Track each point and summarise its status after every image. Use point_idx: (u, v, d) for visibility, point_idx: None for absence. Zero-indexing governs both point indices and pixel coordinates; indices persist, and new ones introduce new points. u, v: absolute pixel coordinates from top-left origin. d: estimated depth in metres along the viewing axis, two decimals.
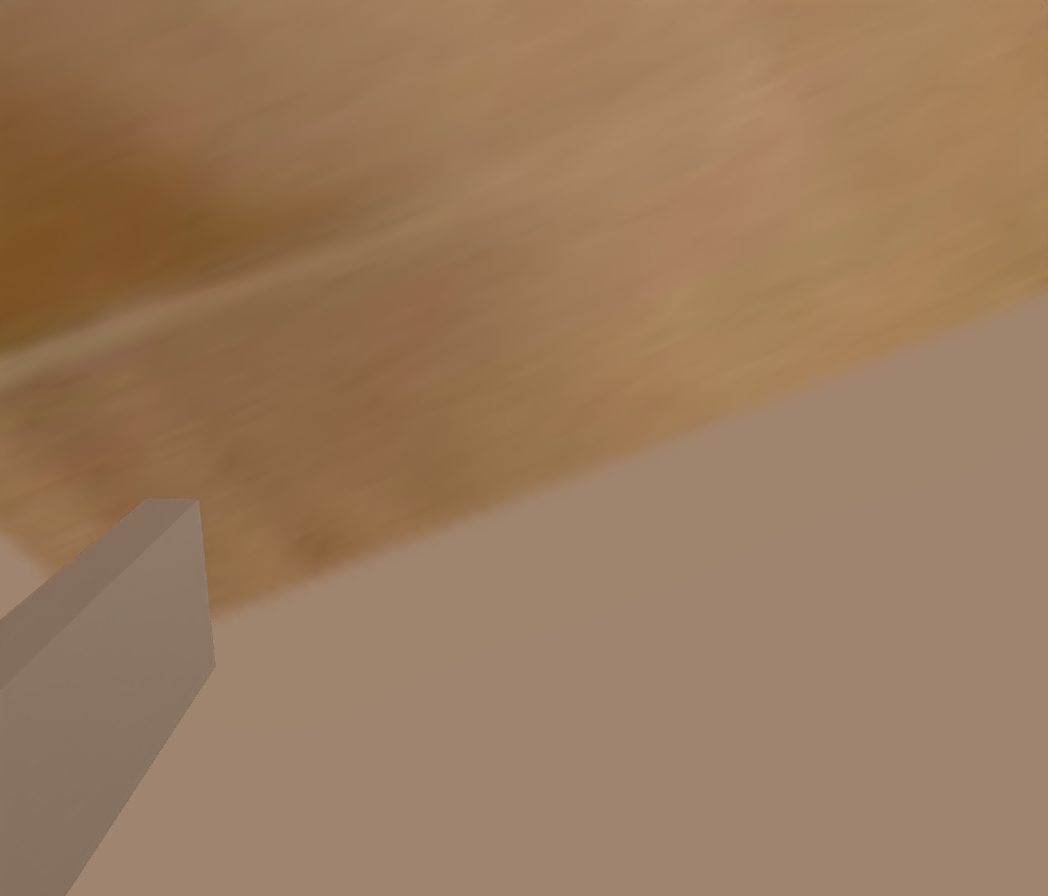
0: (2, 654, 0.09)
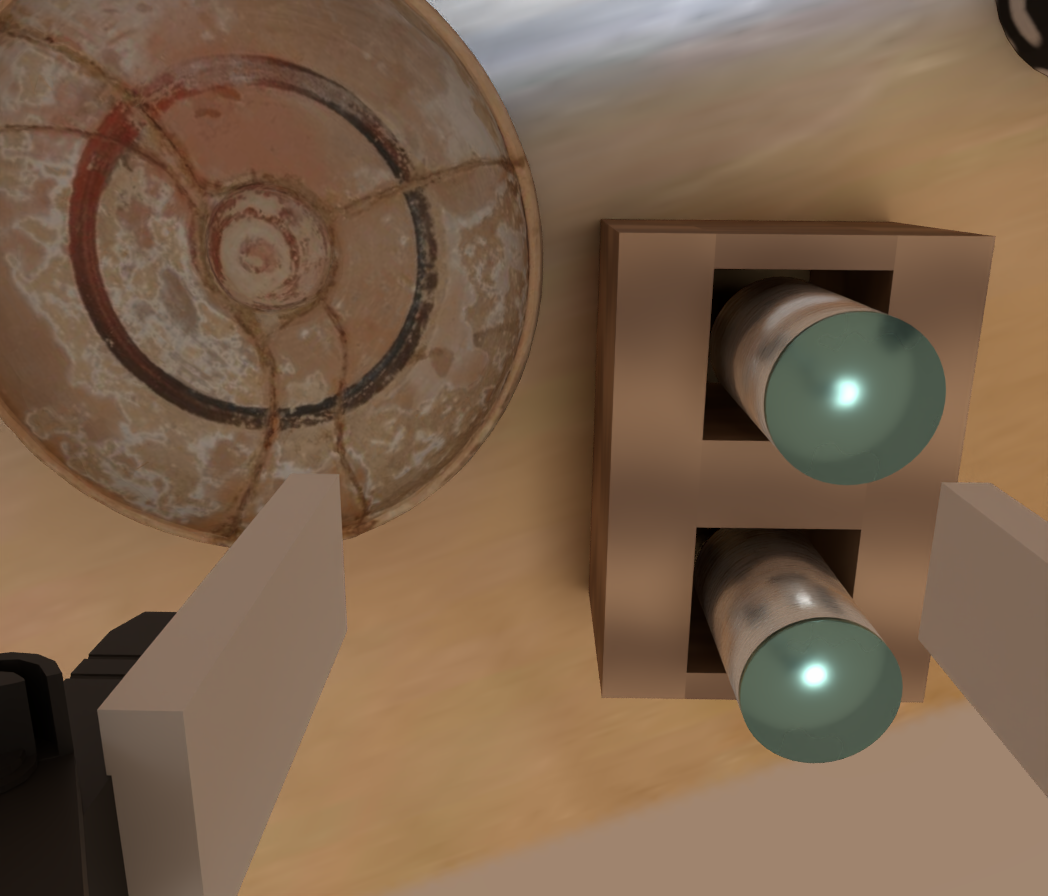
0: (224, 601, 0.10)
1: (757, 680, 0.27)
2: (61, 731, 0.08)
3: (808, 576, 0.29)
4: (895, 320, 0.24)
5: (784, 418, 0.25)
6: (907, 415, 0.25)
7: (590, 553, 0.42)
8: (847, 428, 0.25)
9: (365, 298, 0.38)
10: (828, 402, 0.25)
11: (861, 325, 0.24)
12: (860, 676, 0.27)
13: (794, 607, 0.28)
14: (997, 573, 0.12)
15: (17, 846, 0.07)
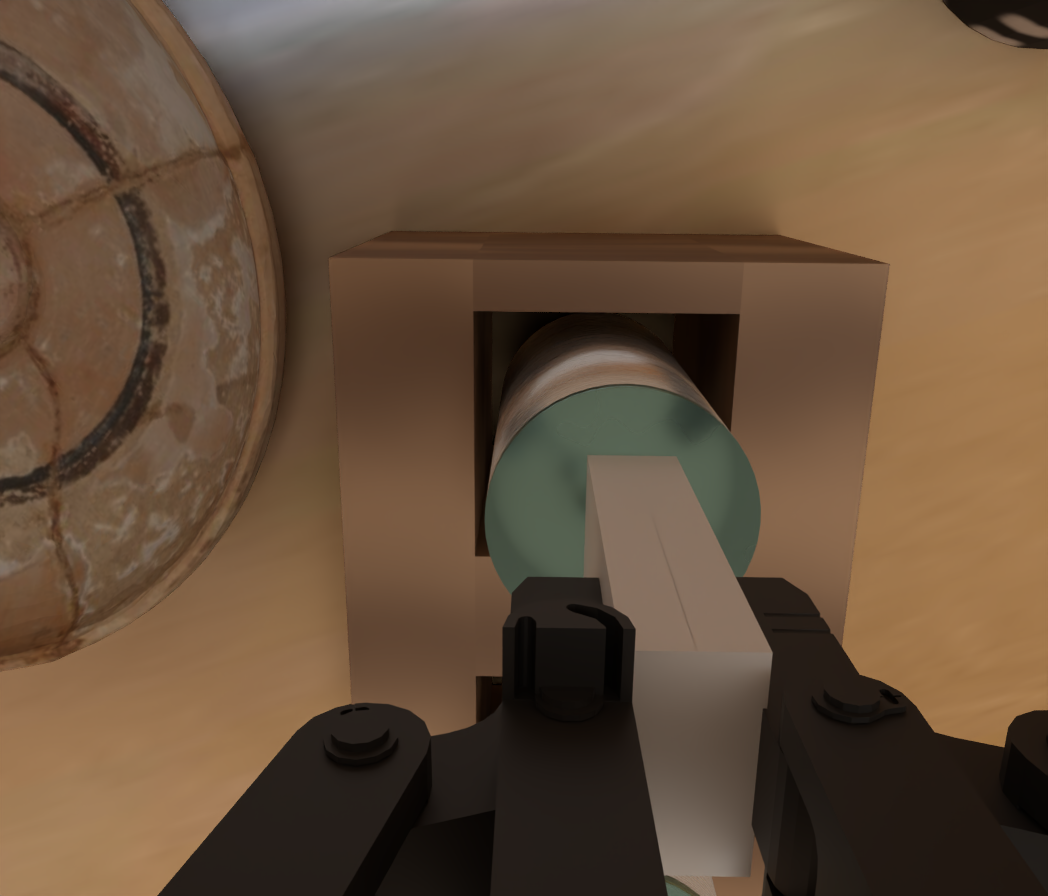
0: (640, 563, 0.11)
1: None
2: (625, 680, 0.08)
3: None
4: (674, 400, 0.15)
5: (514, 547, 0.16)
6: None
7: None
8: None
9: (78, 337, 0.28)
10: (580, 524, 0.16)
11: (622, 408, 0.15)
12: None
13: None
14: None
15: (596, 772, 0.07)
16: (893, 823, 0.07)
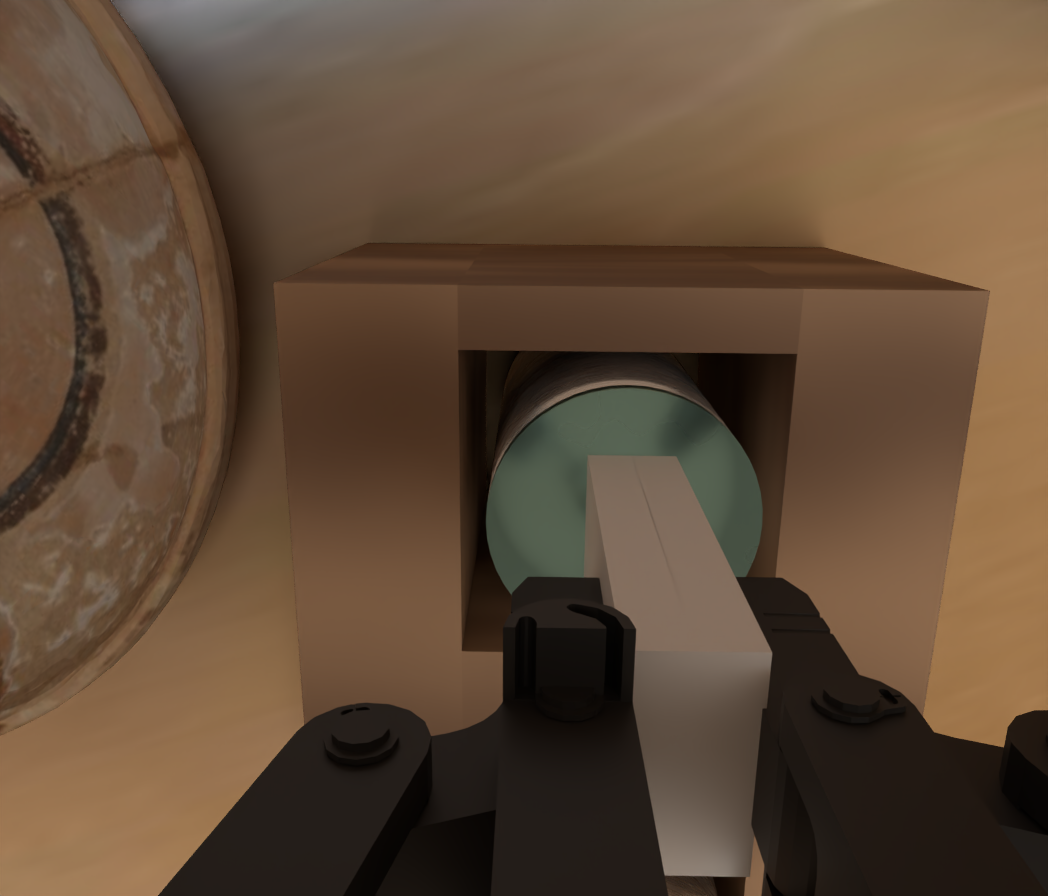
0: (640, 563, 0.11)
1: None
2: (625, 680, 0.08)
3: None
4: (676, 401, 0.15)
5: (516, 549, 0.16)
6: None
7: None
8: None
9: (1, 367, 0.24)
10: (582, 525, 0.16)
11: (623, 409, 0.15)
12: None
13: None
14: None
15: (596, 771, 0.07)
16: (893, 823, 0.07)
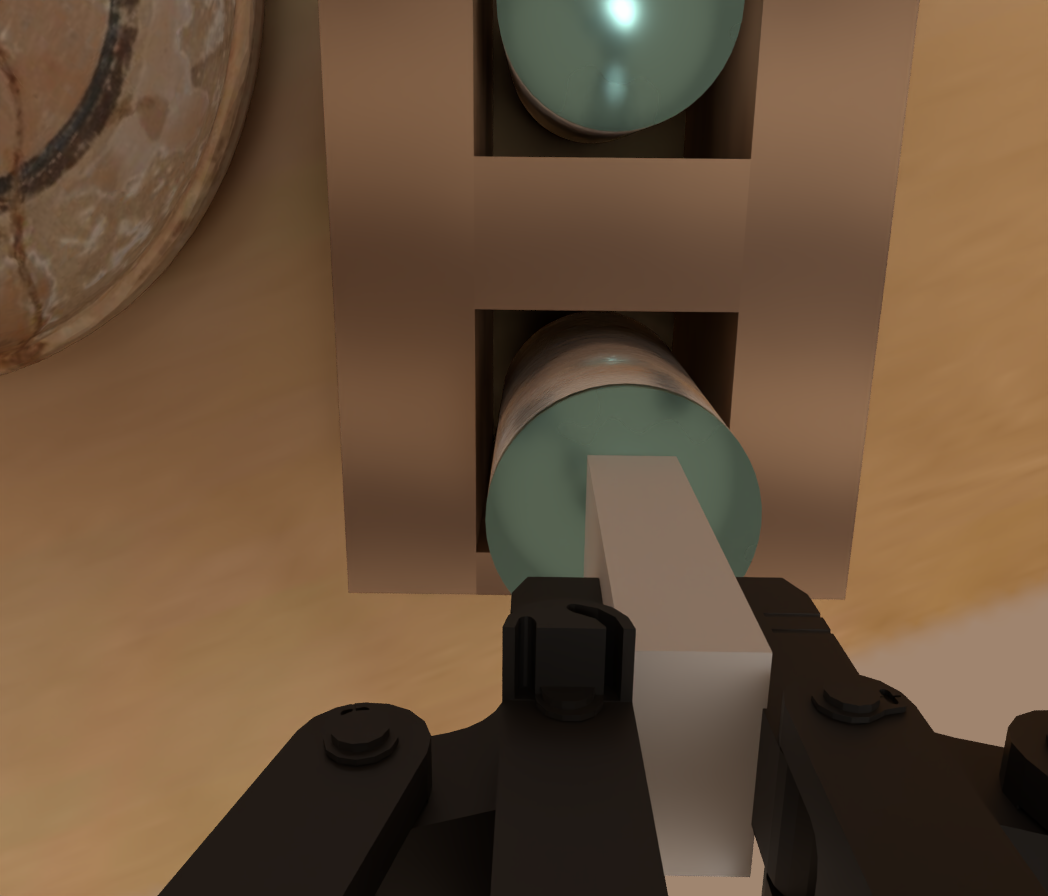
0: (640, 563, 0.11)
1: (512, 497, 0.16)
2: (625, 680, 0.08)
3: (627, 353, 0.18)
4: None
5: (523, 27, 0.18)
6: (693, 22, 0.18)
7: None
8: (612, 43, 0.18)
9: (40, 23, 0.26)
10: (582, 2, 0.18)
11: None
12: None
13: (583, 378, 0.16)
14: None
15: (596, 771, 0.07)
16: (894, 823, 0.07)
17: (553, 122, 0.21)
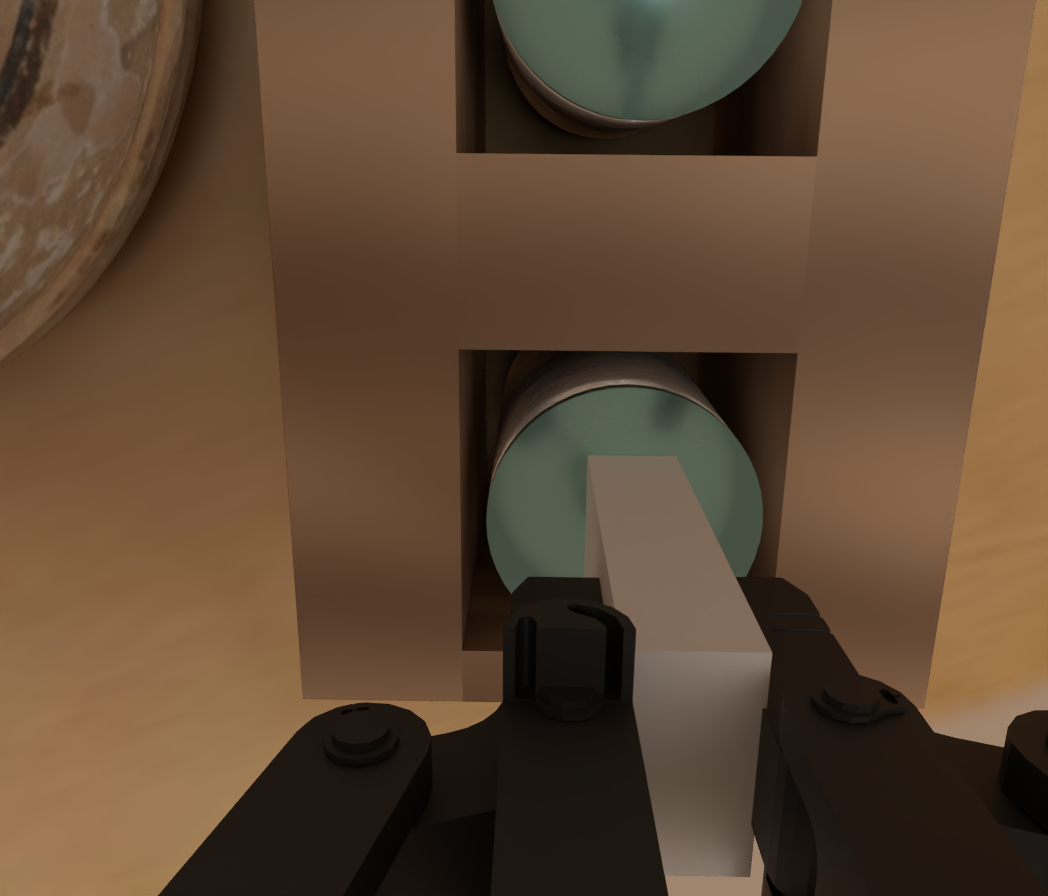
0: (640, 563, 0.11)
1: (512, 498, 0.16)
2: (625, 680, 0.08)
3: (628, 353, 0.18)
4: None
5: None
6: None
7: None
8: (638, 2, 0.13)
9: None
10: None
11: None
12: None
13: (583, 379, 0.16)
14: None
15: (596, 771, 0.07)
16: (893, 824, 0.07)
17: (559, 111, 0.17)
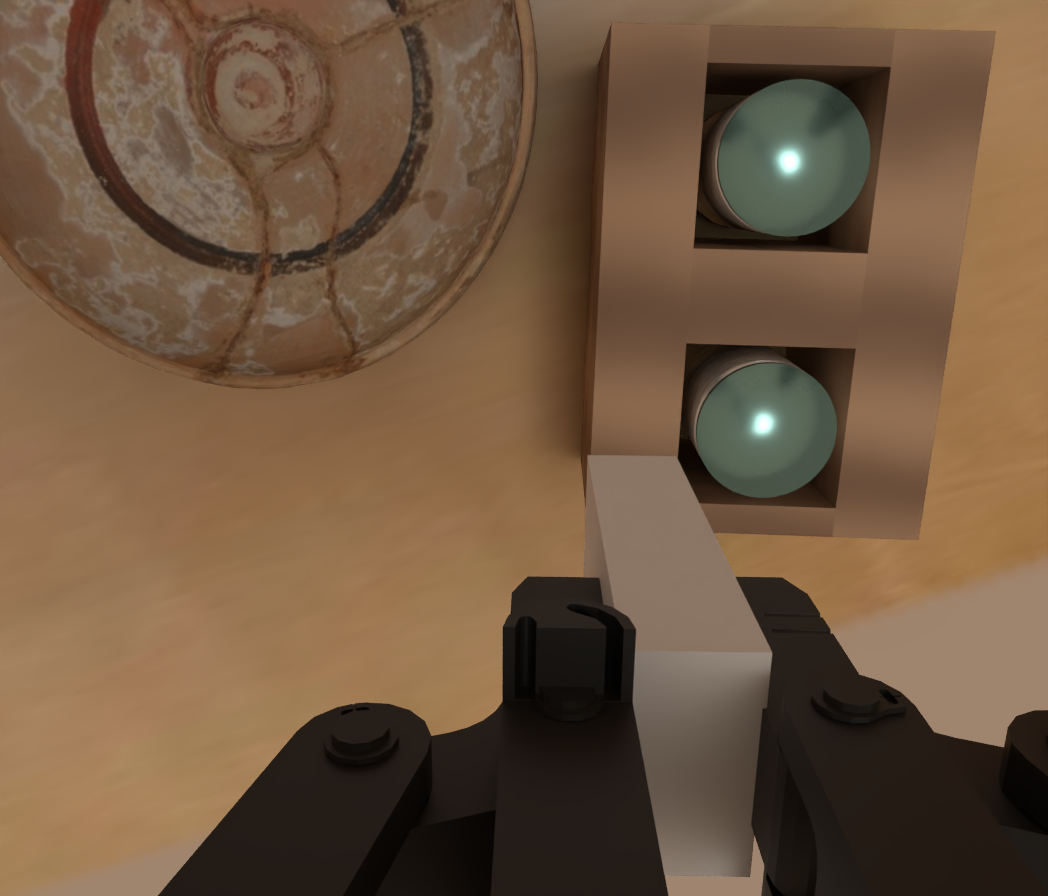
0: (640, 563, 0.11)
1: (711, 418, 0.31)
2: (625, 680, 0.08)
3: (761, 349, 0.34)
4: (826, 86, 0.28)
5: (734, 174, 0.29)
6: (838, 173, 0.29)
7: (583, 417, 0.41)
8: (787, 184, 0.29)
9: (360, 140, 0.38)
10: (771, 160, 0.29)
11: (798, 91, 0.28)
12: (800, 415, 0.31)
13: (745, 360, 0.32)
14: None
15: (596, 771, 0.07)
16: (893, 823, 0.07)
17: (731, 222, 0.33)
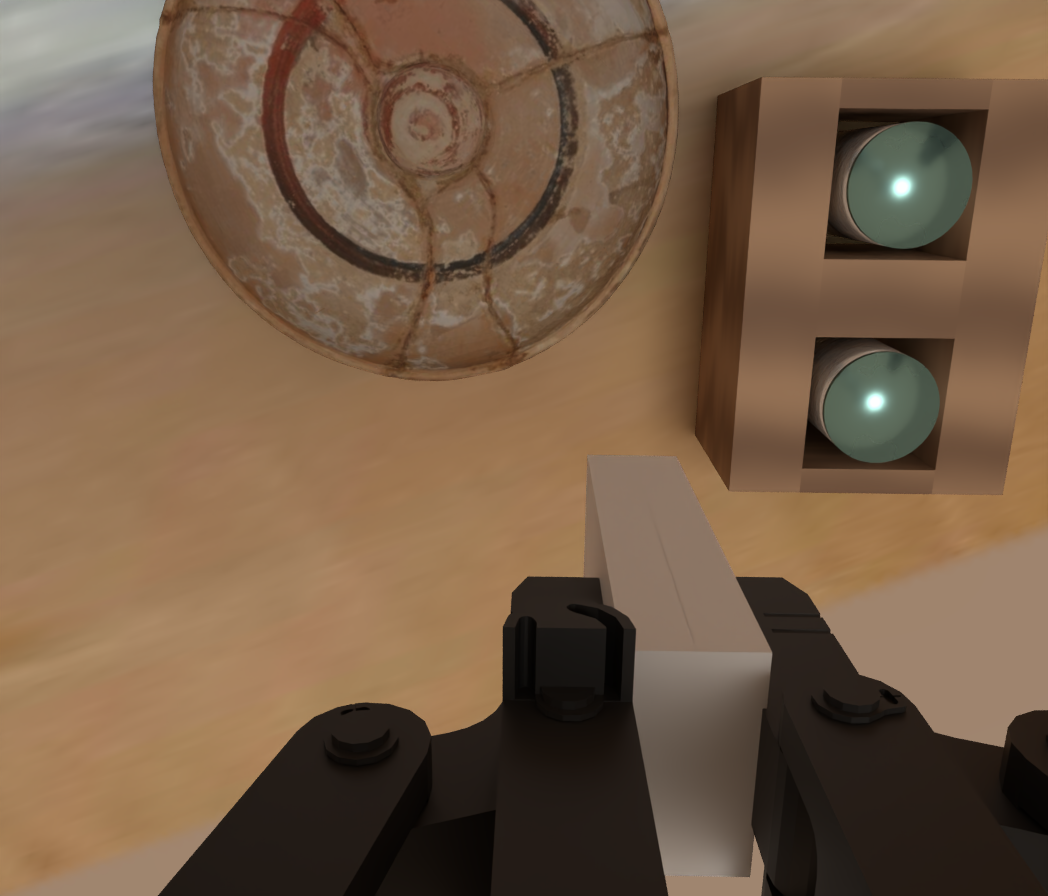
0: (640, 563, 0.11)
1: (837, 398, 0.38)
2: (625, 680, 0.08)
3: (869, 339, 0.41)
4: (938, 127, 0.35)
5: (861, 199, 0.36)
6: (945, 196, 0.36)
7: (698, 398, 0.48)
8: (904, 206, 0.36)
9: (513, 165, 0.44)
10: (891, 187, 0.36)
11: (915, 131, 0.35)
12: (910, 394, 0.38)
13: (862, 349, 0.39)
14: None
15: (596, 771, 0.07)
16: (894, 823, 0.07)
17: (846, 234, 0.39)
